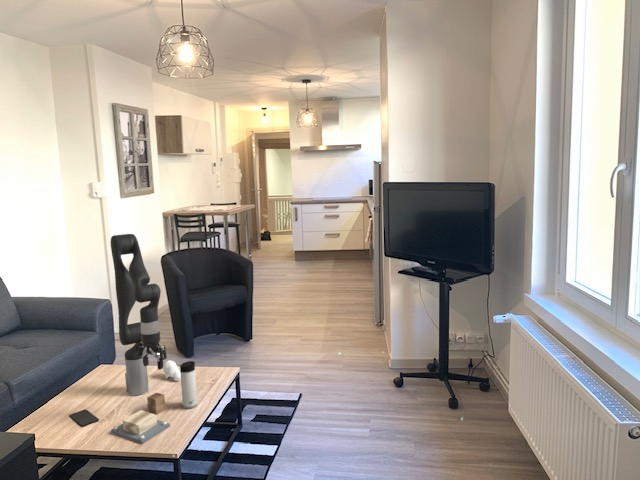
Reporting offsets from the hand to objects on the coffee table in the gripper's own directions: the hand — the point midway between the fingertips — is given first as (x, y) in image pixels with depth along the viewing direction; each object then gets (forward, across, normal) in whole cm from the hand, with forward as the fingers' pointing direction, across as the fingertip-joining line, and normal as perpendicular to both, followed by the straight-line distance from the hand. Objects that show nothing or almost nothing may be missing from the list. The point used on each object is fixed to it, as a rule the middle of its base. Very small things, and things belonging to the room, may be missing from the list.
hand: (153, 367), depth 205 cm
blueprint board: (+20, +6, -14) cm, 25 cm away
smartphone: (+20, -24, -18) cm, 36 cm away
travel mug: (+20, +10, +10) cm, 25 cm away
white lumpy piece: (+20, -18, +28) cm, 39 cm away
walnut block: (+20, 0, 0) cm, 20 cm away
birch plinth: (+19, +6, -14) cm, 24 cm away
